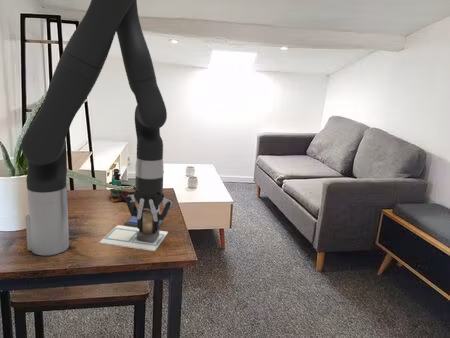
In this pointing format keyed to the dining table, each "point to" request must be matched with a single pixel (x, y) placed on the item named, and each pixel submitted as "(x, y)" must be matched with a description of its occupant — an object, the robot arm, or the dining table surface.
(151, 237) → the stamp
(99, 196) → the dining table surface
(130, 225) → the ink pad
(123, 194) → the binoculars
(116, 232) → the form board
